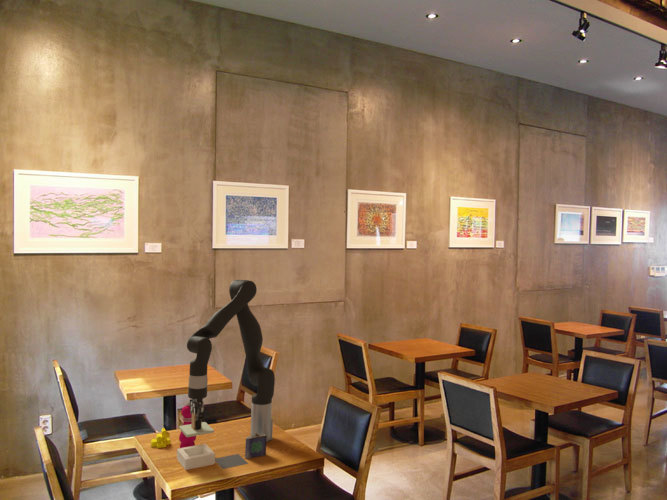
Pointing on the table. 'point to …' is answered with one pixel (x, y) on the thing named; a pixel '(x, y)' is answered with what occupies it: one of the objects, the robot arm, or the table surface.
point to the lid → (191, 431)
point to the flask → (255, 445)
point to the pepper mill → (186, 421)
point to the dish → (195, 456)
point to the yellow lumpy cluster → (161, 439)
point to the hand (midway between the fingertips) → (196, 427)
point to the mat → (230, 461)
